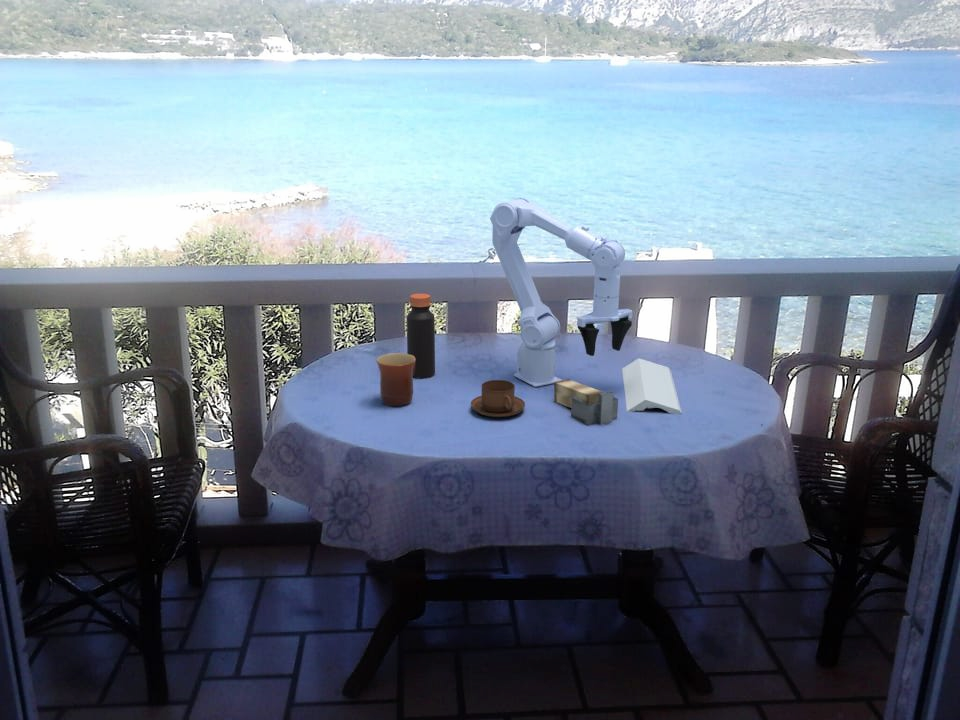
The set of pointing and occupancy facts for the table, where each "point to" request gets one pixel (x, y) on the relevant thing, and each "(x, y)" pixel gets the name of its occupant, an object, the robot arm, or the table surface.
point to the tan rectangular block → (574, 392)
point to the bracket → (595, 409)
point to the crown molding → (649, 387)
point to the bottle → (421, 335)
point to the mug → (396, 378)
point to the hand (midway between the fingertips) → (603, 352)
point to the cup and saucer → (498, 399)
